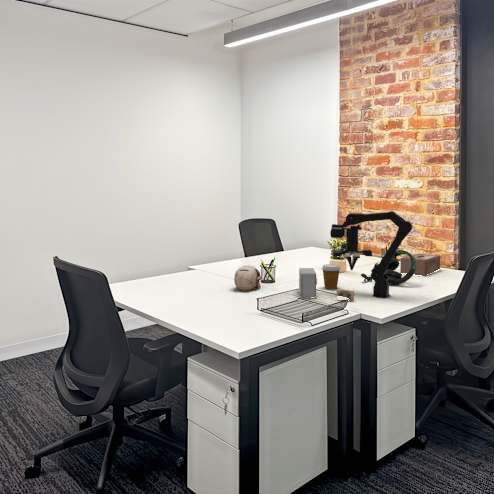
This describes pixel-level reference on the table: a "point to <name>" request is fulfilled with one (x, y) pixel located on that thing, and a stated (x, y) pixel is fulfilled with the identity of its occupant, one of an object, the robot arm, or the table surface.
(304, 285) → the block
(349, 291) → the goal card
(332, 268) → the disposable coffee cup
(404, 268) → the tissue box cover
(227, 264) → the table surface
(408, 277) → the headset
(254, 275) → the coin bank
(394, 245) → the robot arm
